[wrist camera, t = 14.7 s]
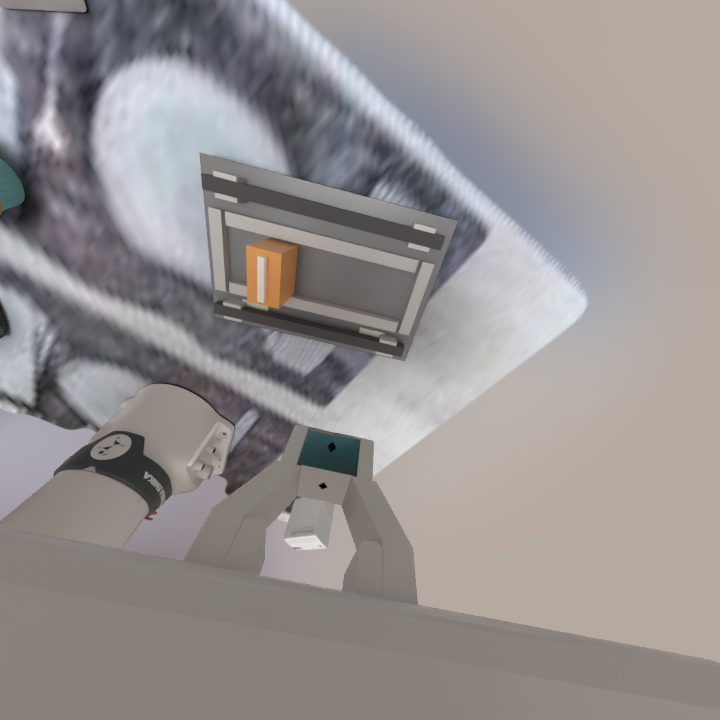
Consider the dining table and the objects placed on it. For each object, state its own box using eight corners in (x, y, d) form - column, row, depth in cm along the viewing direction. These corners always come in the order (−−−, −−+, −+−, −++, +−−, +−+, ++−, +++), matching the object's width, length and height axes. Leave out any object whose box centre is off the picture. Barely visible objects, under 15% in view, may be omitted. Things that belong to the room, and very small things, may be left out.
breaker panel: (403, 353, 34) (405, 368, 31) (223, 310, 33) (207, 322, 30) (453, 219, 25) (462, 222, 22) (212, 156, 24) (187, 149, 21)
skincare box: (330, 463, 48) (316, 534, 37) (340, 477, 50) (329, 548, 40) (302, 468, 49) (280, 539, 39) (313, 482, 51) (295, 552, 41)
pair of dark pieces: (400, 352, 31) (401, 357, 30) (220, 309, 30) (214, 313, 29) (443, 235, 24) (445, 236, 23) (209, 174, 23) (201, 172, 22)
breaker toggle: (294, 292, 28) (276, 311, 24) (267, 286, 28) (244, 303, 23) (298, 245, 26) (279, 255, 21) (269, 237, 26) (242, 246, 21)
